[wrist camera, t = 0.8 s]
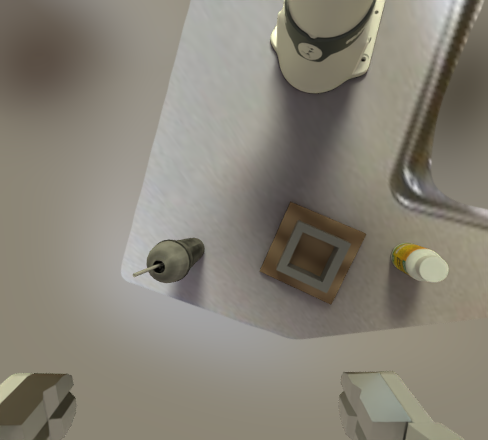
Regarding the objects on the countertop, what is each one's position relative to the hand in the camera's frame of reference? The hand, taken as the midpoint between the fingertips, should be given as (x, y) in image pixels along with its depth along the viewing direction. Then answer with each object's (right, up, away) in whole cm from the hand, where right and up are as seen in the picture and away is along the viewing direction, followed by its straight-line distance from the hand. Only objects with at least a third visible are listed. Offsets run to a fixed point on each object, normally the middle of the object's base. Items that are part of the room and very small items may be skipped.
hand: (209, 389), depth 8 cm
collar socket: (+14, -1, +43) cm, 45 cm away
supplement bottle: (+31, -2, +40) cm, 51 cm away
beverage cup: (-9, -1, +47) cm, 48 cm away
